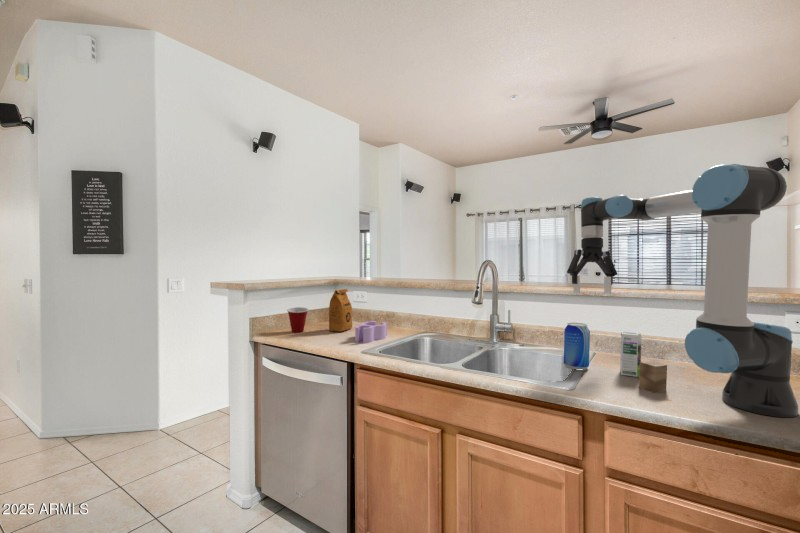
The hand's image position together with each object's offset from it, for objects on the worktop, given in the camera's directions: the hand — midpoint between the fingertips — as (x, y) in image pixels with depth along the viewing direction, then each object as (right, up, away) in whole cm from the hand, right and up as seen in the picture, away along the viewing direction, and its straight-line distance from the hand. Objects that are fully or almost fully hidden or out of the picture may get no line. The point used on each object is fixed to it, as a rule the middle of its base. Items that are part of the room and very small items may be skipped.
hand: (592, 293), depth 143 cm
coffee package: (-105, -24, +56) cm, 122 cm away
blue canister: (-9, -27, -6) cm, 29 cm away
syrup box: (+6, -27, -13) cm, 31 cm away
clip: (-88, -25, +38) cm, 99 cm away
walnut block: (+4, -28, -27) cm, 39 cm away
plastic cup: (-127, -24, +51) cm, 139 cm away
